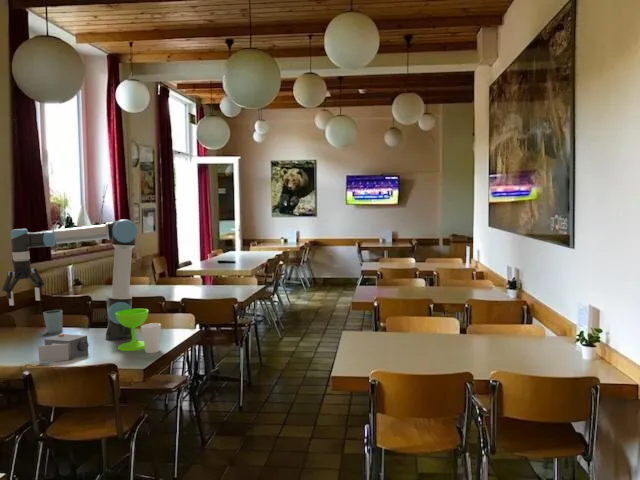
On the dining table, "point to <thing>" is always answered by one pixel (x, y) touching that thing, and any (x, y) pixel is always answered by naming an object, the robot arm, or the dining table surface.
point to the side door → (54, 352)
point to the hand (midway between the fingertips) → (25, 302)
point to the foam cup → (151, 337)
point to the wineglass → (132, 326)
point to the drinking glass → (53, 321)
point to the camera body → (71, 343)
